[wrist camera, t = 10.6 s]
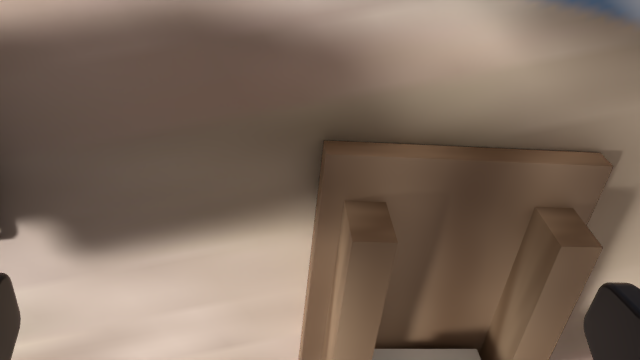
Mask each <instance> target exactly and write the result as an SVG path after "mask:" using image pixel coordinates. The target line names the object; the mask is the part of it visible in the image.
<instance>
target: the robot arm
mask: <svg viewBox="0 0 640 360" xmlns="http://www.w3.org/2000/svg"><path fill="white" fill-rule="evenodd" d="M20 320H21V318H20V311H19V307H18V304H17V300H16V296H15V293H14V289H13V286H12V282H11V280H10V277H9V276H8V275H7V274H5V273H0V360H11V357H12V353H13V350H14V346H15V343H16V339H17V336H18V332H19V329H20ZM584 332H585V336H586V339H587V342H588V345H589V348H590V351H591V354H592V357H593V360H640V289H639V288H637V287H636V286H634V285H632V284H630V283H605V284H603V285H602V286H601V287H600V288H599V290H598V292H597V294H596V296H595V298H594V300H593V302H592V304H591V306H590V308H589V310H588V312H587V314H586V316H585V318H584Z"/></svg>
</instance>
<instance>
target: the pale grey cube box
mask: <svg viewBox="0 0 640 360" xmlns="http://www.w3.org/2000/svg"><path fill="white" fill-rule="evenodd" d="M372 360H481V358H480V356H479V353H478V350H477V349H374V353H373V357H372Z"/></svg>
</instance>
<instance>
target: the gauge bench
mask: <svg viewBox="0 0 640 360" xmlns="http://www.w3.org/2000/svg"><path fill="white" fill-rule="evenodd" d="M612 168H613V166H612V165H611V163H610V162H609V161H608V160H607V159H606V158H605V157H604V156H603V155H602V154H601V153H591V152H569V151H547V150H525V149H503V148H481V147H459V146H437V145H415V144H393V143H371V142H349V141H326V140H324V143H323V152H322V160H321V169H320V178H319V187H318V195H317V204H316V213H315V221H314V230H313V239H312V247H311V256H310V265H309V273H308V282H307V291H306V299H305V308H304V317H303V326H302V334H301V343H300V352H299V360H372V357H373V353H374V349H477V350H478V353H479V356H480V358H481V360H549V358H550V356H551V354H552V352H553V350H554V348H555V346H556V344H557V342H558V339H559V337H560V335H561V333H562V331H563V329H564V327H565V325H566V323H567V321H568V319H569V317H570V315H571V313H572V311H573V309H574V306H575V304H576V302H577V300H578V298H579V296H580V294H581V292H582V290H583V288H584V286H585V284H586V282H587V280H588V278H589V275H590V273H591V271H592V269H593V267H594V265H595V263H596V261H597V259H598V257H599V255H600V253H601V251H602V249H603V247H602V246H601V244H600V243H599V242H598V240H597V239H596V238H595V236H594V235H593V234H592V232H591V231H590V230H589V229H588V227H587V224H588V222H589V219H590V217H591V215H592V213H593V211H594V208H595V206H596V204H597V202H598V199H599V197H600V195H601V193H602V191H603V188H604V186H605V184H606V182H607V180H608V177H609V175H610V173H611V171H612Z"/></svg>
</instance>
